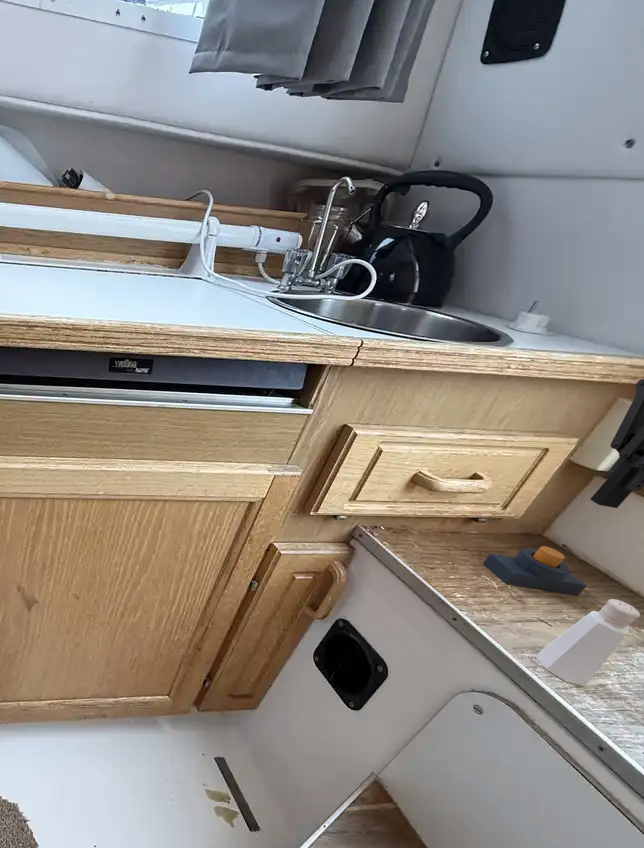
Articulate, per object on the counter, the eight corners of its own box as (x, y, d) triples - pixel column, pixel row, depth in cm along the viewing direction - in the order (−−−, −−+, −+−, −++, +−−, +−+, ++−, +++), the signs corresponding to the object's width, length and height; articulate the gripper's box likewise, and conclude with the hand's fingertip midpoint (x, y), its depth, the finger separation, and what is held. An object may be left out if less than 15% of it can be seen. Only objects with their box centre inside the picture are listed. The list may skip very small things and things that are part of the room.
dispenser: (548, 572, 91) (565, 554, 89) (580, 598, 86) (598, 578, 84) (480, 561, 90) (495, 542, 88) (508, 586, 85) (525, 566, 83)
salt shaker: (524, 652, 72) (584, 590, 66) (554, 651, 73) (615, 589, 67) (568, 688, 67) (636, 624, 62) (599, 685, 68) (668, 623, 63)
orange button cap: (544, 557, 87) (553, 547, 86) (561, 570, 85) (570, 559, 84) (527, 554, 87) (536, 544, 86) (542, 567, 85) (552, 556, 84)
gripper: (661, 324, 72) (541, 476, 84) (779, 356, 61) (621, 526, 73) (714, 334, 72) (587, 484, 84) (841, 368, 61) (674, 535, 73)
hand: (603, 503), depth 79 cm, fingers closed
